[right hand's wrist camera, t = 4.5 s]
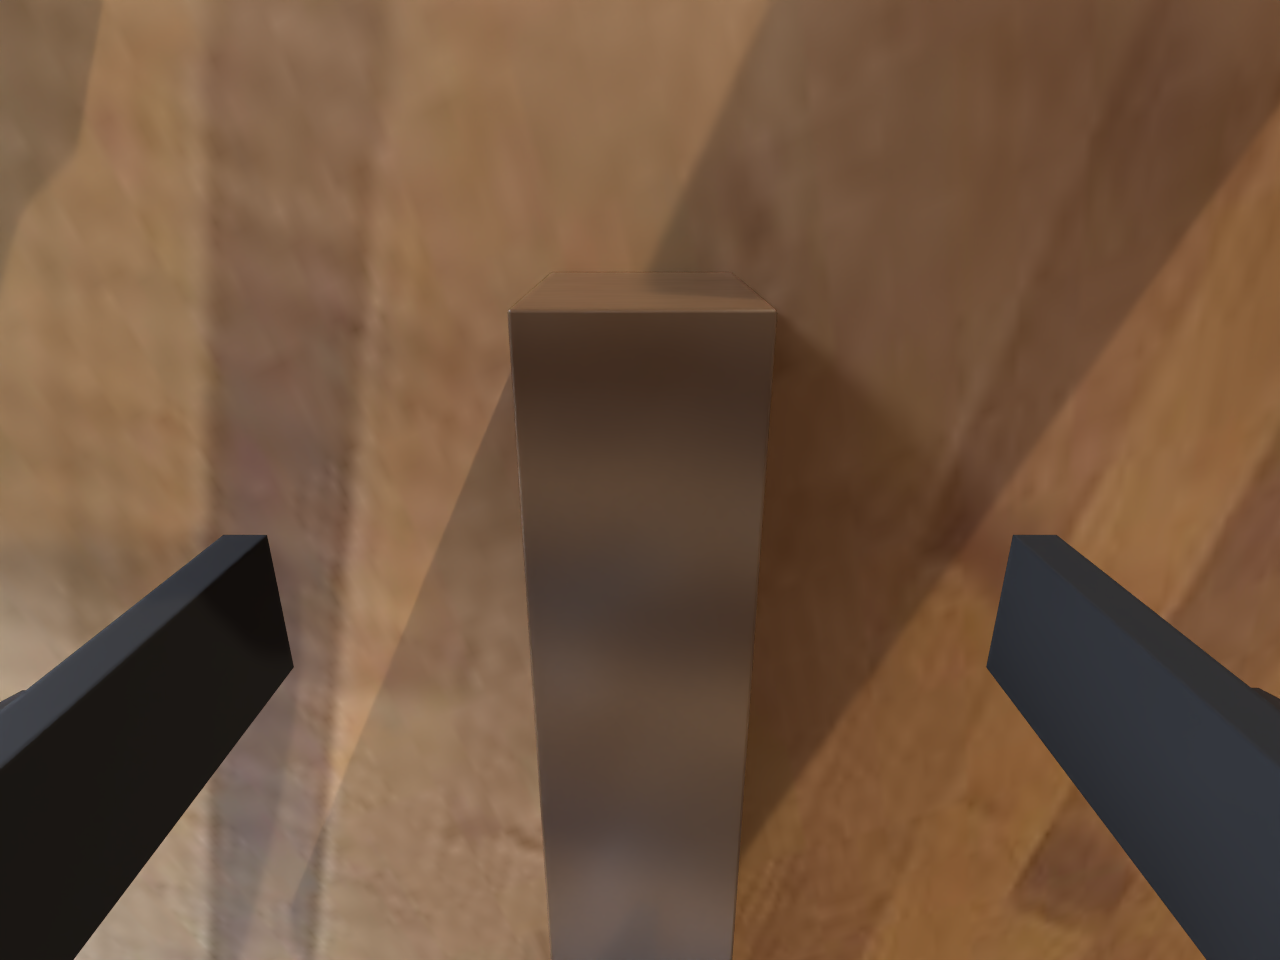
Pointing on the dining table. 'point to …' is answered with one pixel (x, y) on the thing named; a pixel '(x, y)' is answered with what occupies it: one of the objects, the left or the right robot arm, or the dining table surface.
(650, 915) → the beam
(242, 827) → the dining table surface
